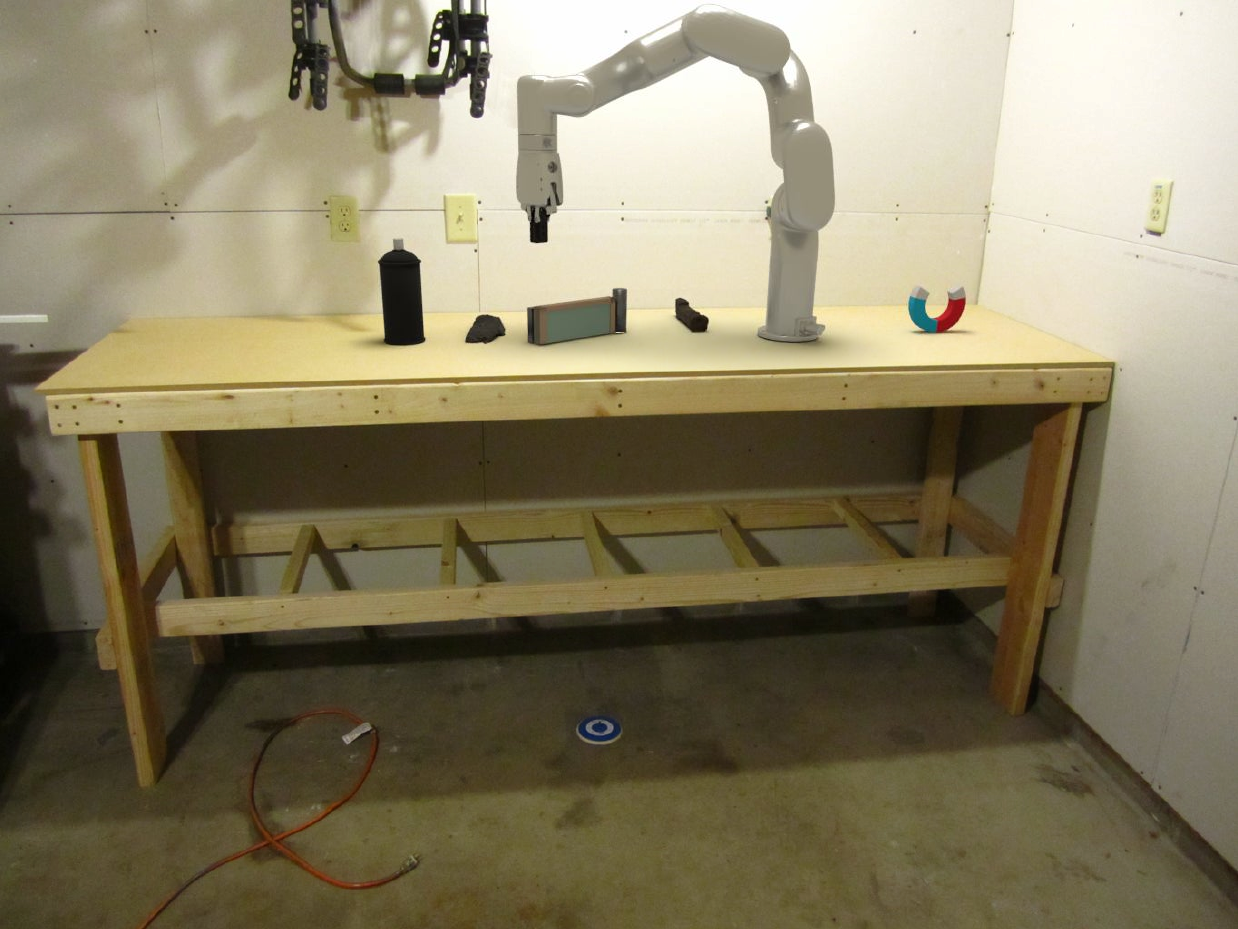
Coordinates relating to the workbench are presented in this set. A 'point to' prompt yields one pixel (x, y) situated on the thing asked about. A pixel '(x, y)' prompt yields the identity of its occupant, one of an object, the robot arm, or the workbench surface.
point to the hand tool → (690, 316)
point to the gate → (574, 319)
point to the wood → (485, 329)
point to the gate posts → (620, 313)
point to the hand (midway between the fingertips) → (538, 242)
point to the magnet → (943, 321)
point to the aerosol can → (401, 296)
